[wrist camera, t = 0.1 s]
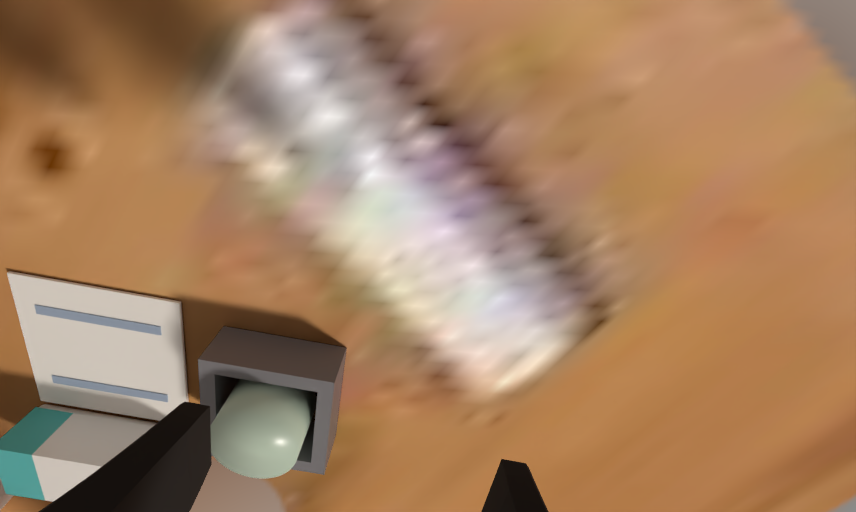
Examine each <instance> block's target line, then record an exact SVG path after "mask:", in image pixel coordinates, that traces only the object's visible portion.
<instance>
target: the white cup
mask: <svg viewBox="0 0 856 512" xmlns="http://www.w3.org/2000/svg"><path fill="white" fill-rule="evenodd" d="M13 496H14V495H9V494H6V493H5V490H4V487H3V484H2V482H1V479H0V510H1V509H2V508H3V507H4V506H5V505H6V504H7V503H8V501H9V500H10V499H11V498H12V497H13Z"/></svg>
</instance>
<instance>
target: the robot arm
mask: <svg viewBox="0 0 856 512" xmlns="http://www.w3.org/2000/svg"><path fill="white" fill-rule="evenodd" d="M210 466H211V426H210V406H207V405H201V404H196V403H190V402H183V403H181V404H180V405H179V406H177V407H176V408H175V409H174V410H173V411H171V412H170V413H169V414H168V415H166V416H165V417H164V418H163V419H162V420H160V421H159V422H158V423H157V424H155V425H154V426H153V427H152V428H150V429H149V430H148V431H147V432H146V433H144V434H143V435H142V436H141V437H139V438H138V439H137V440H135V441H134V442H133V443H132V444H130V445H129V446H128V447H127V448H125V449H124V450H123V451H121V452H120V453H119V454H118V455H116V456H115V457H114V458H112V459H111V460H110V461H108V462H107V463H106V464H104V465H103V466H102V467H101V468H99V469H98V470H97V471H95V472H94V473H93V474H91V475H90V476H89V477H87V478H86V479H84V480H83V481H82V482H80V483H79V484H77V485H76V486H75V487H73V488H72V489H70V490H69V491H68V492H66V493H65V494H63V495H62V496H61V497H59V498H58V499H56V500H55V501H53V502H52V503H51V504H49V505H48V506H46V507H45V508H44V509H42V510H41V511H39V512H189V511H190V509H191V507H192V505H193V503H194V501H195V499H196V497H197V495H198V493H199V491H200V489H201V486H202V484H203V482H204V480H205V477H206V475H207V473H208V471H209V468H210ZM482 512H548V510H547V508H546V506H545V503H544V501H543V499H542V497H541V495H540V492H539V490H538V488H537V486H536V483H535V481H534V479H533V477H532V474H531V472H530V470H529V467H528V466H527V465H526V463H520V462H515V461H509V460H504V459H502V460H501V462H500V465H499V467H498V470H497V473H496V475H495V478H494V480H493V483H492V486H491V488H490V491H489V494H488V496H487V499H486V501H485V504H484V507H483V509H482Z"/></svg>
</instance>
